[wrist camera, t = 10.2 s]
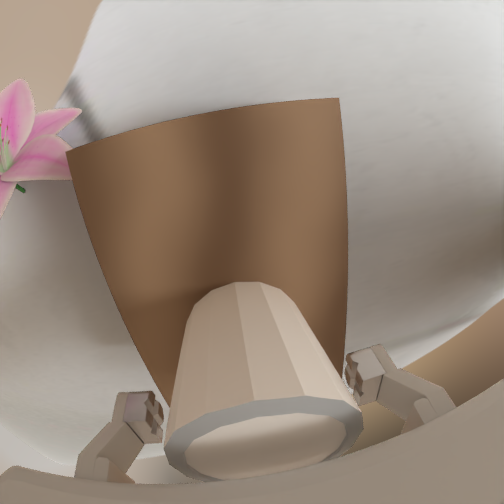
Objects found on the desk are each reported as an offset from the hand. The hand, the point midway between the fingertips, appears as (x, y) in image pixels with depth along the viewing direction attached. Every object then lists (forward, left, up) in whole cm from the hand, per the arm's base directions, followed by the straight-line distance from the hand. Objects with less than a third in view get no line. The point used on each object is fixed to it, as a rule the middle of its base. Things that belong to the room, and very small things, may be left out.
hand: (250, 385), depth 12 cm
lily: (+12, -12, -13) cm, 21 cm away
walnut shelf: (0, -1, -13) cm, 13 cm away
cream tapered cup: (0, 0, -4) cm, 4 cm away
